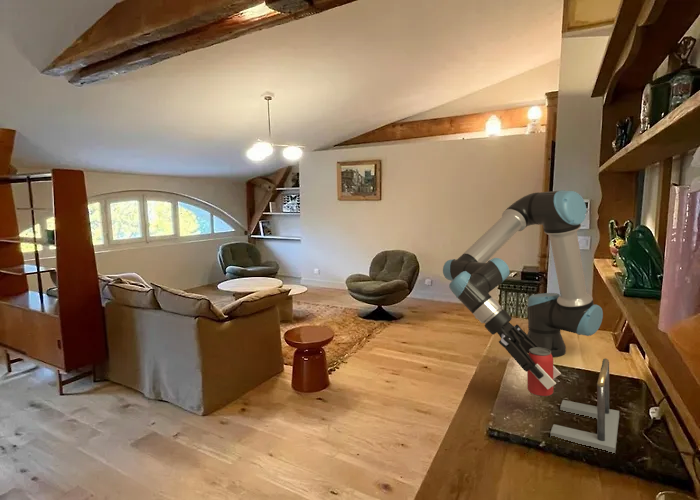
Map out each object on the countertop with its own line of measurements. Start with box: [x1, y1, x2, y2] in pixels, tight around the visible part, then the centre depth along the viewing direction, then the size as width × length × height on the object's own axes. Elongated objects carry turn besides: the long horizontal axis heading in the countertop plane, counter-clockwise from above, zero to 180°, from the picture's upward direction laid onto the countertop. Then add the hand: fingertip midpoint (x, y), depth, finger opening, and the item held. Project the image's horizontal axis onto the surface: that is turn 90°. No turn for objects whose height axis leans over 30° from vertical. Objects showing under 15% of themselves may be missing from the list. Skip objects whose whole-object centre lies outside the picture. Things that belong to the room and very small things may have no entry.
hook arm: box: [596, 358, 610, 441], centre depth 106 cm, size 17×2×17 cm, turn 144°
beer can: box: [526, 347, 554, 397], centre depth 113 cm, size 7×7×12 cm
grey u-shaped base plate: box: [549, 399, 620, 454], centre depth 109 cm, size 20×14×2 cm
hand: (554, 381), depth 111 cm, fingers closed on beer can, 7 cm apart
